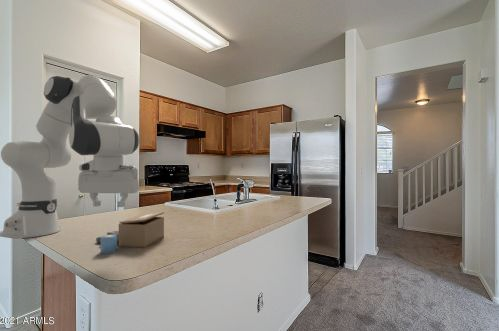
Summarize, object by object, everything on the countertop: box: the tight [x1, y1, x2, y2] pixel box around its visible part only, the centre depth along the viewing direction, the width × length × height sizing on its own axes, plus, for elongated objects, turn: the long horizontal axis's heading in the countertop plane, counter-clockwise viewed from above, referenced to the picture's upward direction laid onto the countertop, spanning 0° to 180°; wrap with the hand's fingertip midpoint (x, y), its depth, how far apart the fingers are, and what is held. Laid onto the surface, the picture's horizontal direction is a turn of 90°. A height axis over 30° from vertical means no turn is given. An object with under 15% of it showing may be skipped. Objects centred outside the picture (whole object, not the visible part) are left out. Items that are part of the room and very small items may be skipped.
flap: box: [118, 211, 165, 224], centre depth 96 cm, size 10×14×1 cm, turn 172°
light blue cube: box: [100, 234, 118, 255], centre depth 84 cm, size 5×5×5 cm
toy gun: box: [95, 230, 119, 244], centre depth 103 cm, size 25×3×15 cm
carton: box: [118, 216, 165, 249], centre depth 96 cm, size 10×14×8 cm
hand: (108, 206), depth 84 cm, fingers open, 8 cm apart
